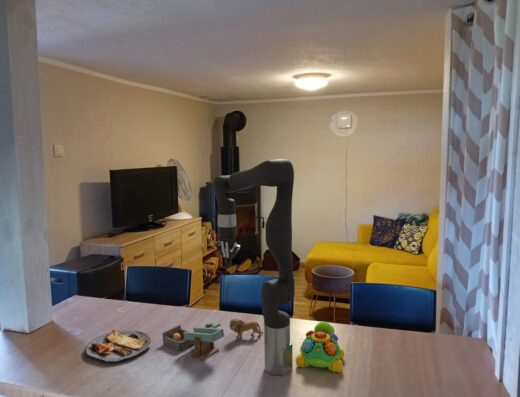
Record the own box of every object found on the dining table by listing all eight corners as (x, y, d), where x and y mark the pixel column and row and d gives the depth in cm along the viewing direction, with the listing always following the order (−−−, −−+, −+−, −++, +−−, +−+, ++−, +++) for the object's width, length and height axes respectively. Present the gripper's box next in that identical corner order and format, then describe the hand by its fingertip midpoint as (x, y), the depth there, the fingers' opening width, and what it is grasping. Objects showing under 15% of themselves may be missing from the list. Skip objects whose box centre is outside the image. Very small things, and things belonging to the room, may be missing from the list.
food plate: (73, 354, 161) (72, 345, 160) (119, 330, 181) (118, 323, 181) (119, 371, 149) (119, 362, 149) (163, 344, 170) (162, 336, 169)
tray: (197, 342, 169) (196, 331, 168) (180, 351, 162) (179, 339, 161) (180, 335, 175) (179, 324, 174) (163, 344, 168) (162, 332, 167)
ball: (182, 335, 169) (177, 330, 171) (176, 338, 167) (171, 333, 168) (181, 341, 170) (176, 336, 172) (175, 344, 168) (170, 339, 169)
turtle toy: (346, 347, 164) (346, 319, 162) (341, 379, 141) (342, 347, 140) (304, 342, 168) (303, 315, 167) (293, 373, 146) (293, 341, 144)
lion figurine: (231, 343, 168) (231, 322, 167) (228, 337, 173) (227, 317, 172) (265, 337, 173) (265, 316, 172) (261, 331, 178) (260, 311, 177)
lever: (241, 326, 164) (239, 319, 164) (213, 342, 152) (211, 334, 152) (212, 325, 174) (211, 318, 174) (183, 339, 162) (182, 332, 162)
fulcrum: (219, 350, 162) (218, 331, 161) (200, 361, 154) (200, 341, 153) (208, 346, 166) (207, 327, 165) (189, 356, 158) (188, 336, 157)
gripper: (245, 224, 166) (246, 266, 168) (221, 221, 173) (222, 261, 176) (233, 228, 160) (234, 271, 162) (208, 224, 168) (210, 265, 170)
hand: (228, 265), depth 169 cm, fingers closed
